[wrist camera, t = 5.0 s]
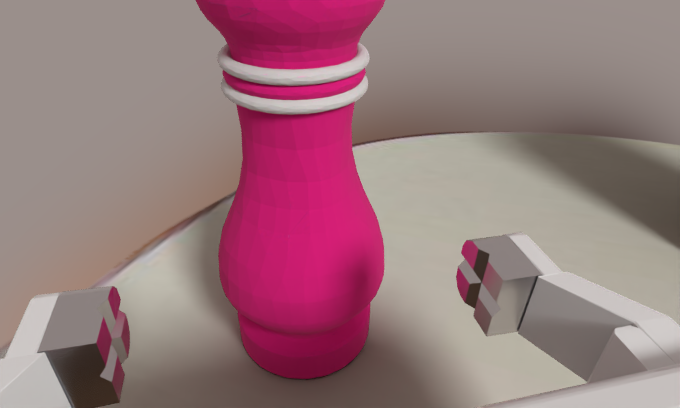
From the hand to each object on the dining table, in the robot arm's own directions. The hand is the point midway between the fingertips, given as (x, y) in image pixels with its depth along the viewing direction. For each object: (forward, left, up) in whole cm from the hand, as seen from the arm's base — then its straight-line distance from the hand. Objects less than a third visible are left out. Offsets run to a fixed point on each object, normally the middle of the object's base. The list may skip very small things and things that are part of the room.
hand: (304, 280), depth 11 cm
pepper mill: (+7, +1, -10) cm, 13 cm away
